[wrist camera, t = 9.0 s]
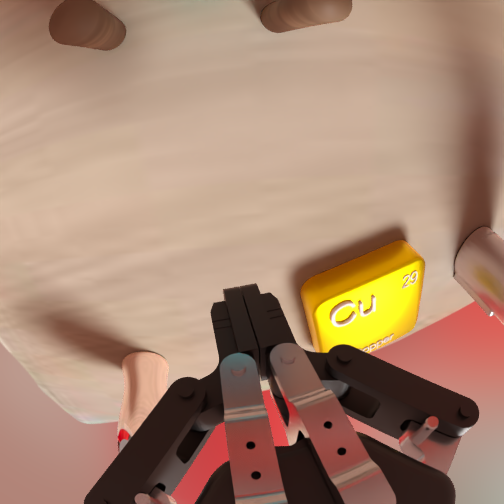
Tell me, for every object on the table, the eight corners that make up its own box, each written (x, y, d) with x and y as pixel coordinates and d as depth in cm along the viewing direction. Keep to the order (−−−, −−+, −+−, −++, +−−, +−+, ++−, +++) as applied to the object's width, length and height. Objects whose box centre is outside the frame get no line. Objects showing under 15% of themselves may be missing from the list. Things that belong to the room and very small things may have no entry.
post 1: (127, 46, 18) (99, 36, 10) (93, 54, 17) (50, 51, 10) (125, 15, 16) (97, -11, 9) (91, 23, 16) (48, 5, 9)
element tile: (314, 350, 44) (325, 376, 40) (295, 279, 35) (311, 309, 31) (401, 310, 44) (417, 331, 40) (407, 233, 35) (430, 255, 31)
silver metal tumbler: (107, 362, 35) (105, 472, 23) (146, 341, 34) (153, 461, 22) (144, 385, 39) (151, 485, 27) (182, 367, 38) (198, 474, 26)
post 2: (293, 33, 20) (352, 25, 13) (261, 32, 19) (307, 19, 12) (292, 4, 18) (351, -17, 11) (260, 2, 18) (306, -24, 11)
